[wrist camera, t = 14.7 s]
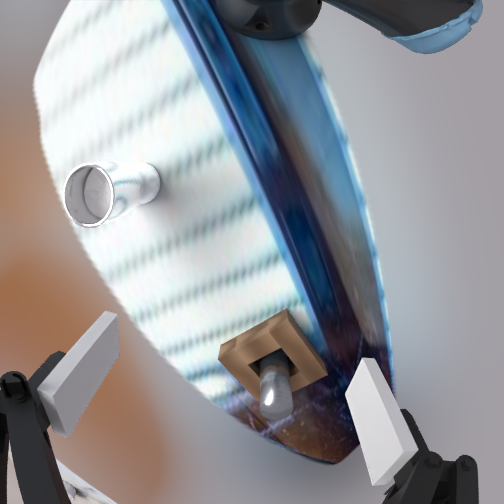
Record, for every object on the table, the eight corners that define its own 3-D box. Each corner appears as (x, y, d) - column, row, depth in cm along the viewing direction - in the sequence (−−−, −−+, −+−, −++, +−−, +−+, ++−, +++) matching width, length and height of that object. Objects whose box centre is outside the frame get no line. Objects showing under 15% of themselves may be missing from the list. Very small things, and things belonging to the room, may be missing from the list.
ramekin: (51, 473, 73) (46, 481, 67) (72, 483, 73) (68, 492, 67) (60, 485, 76) (56, 493, 71) (81, 494, 76) (77, 503, 71)
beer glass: (172, 175, 40) (128, 183, 26) (148, 216, 42) (98, 243, 27) (134, 150, 39) (78, 148, 25) (112, 190, 41) (52, 207, 26)
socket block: (286, 308, 45) (288, 321, 42) (323, 360, 48) (327, 374, 44) (220, 345, 48) (218, 359, 44) (262, 390, 50) (262, 405, 47)
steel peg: (277, 339, 47) (282, 393, 35) (291, 356, 48) (299, 411, 36) (255, 351, 48) (253, 406, 35) (269, 368, 49) (271, 423, 36)
